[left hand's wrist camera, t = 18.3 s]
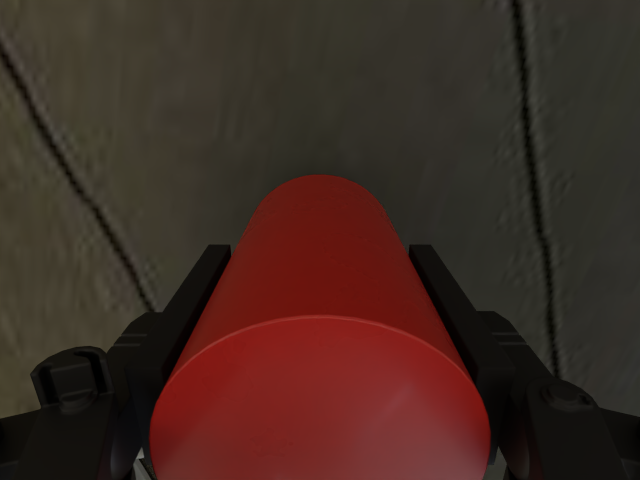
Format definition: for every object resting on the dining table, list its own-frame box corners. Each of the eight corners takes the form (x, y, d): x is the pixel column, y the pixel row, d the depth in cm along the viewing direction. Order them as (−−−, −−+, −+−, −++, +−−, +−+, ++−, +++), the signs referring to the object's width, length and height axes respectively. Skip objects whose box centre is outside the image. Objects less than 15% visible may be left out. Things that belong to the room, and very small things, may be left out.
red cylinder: (327, 333, 19) (336, 602, 9) (217, 254, 17) (84, 476, 8) (423, 238, 17) (564, 447, 7) (310, 141, 15) (293, 238, 6)
